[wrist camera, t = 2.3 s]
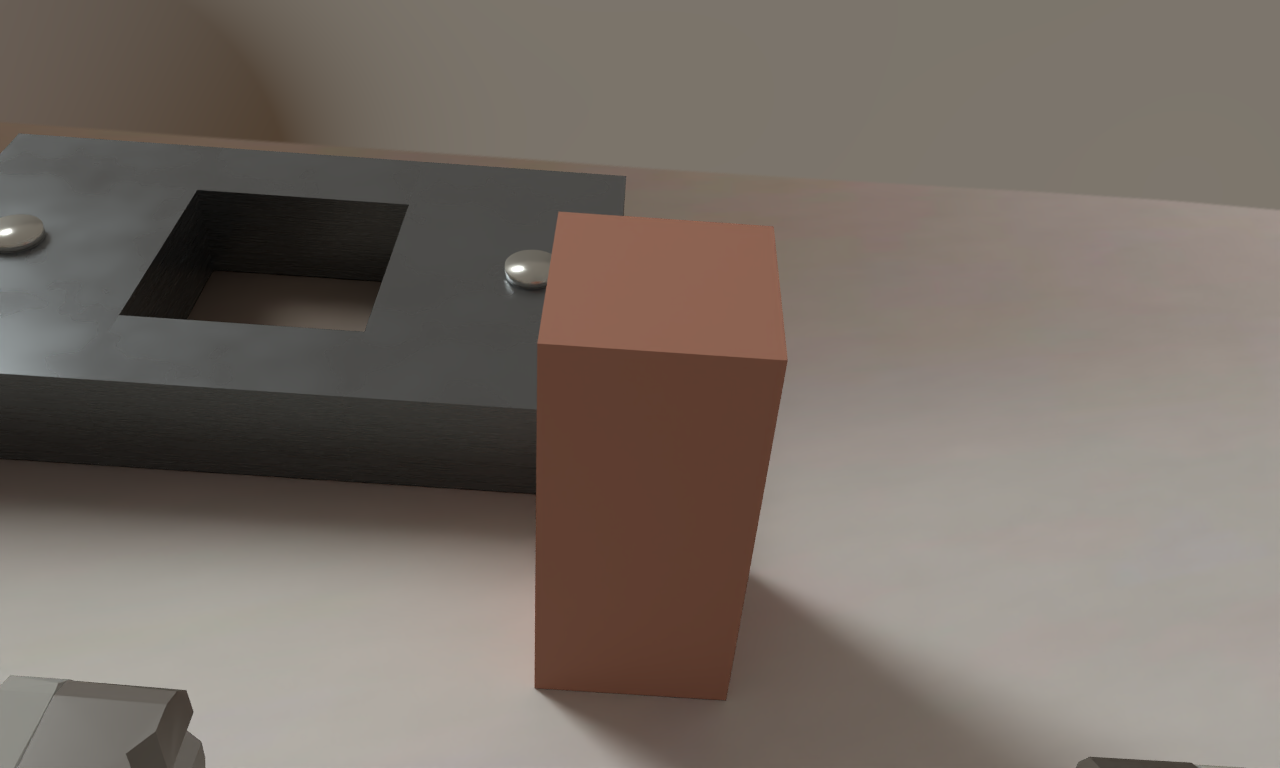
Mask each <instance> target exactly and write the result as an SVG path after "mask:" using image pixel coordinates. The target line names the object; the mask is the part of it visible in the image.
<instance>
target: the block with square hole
mask: <svg viewBox="0 0 1280 768" xmlns="http://www.w3.org/2000/svg"><path fill="white" fill-rule="evenodd" d="M625 185H626V176H615V175H601V174H587V173H573V172H558V171H544V170H530V169H516V168H501V167H487V166H473V165H459V164H445V163H430V162H416V161H402V160H388V159H373V158H359V157H345V156H331V155H316V154H302V153H288V152H274V151H259V150H245V149H231V148H217V147H203V146H188V145H174V144H160V143H146V142H131V141H117V140H103V139H89V138H74V137H60V136H46V135H32V134H18V135H17V136H16V137H15V138H14V140H13V141H12V142H11V143H10V144H9V145H8V146H7V147H6V148H5V149H4V150H3V152H2V153H1V154H0V458H5V459H21V460H36V461H51V462H66V463H81V464H96V465H111V466H127V467H142V468H157V469H172V470H187V471H202V472H217V473H233V474H248V475H263V476H278V477H293V478H308V479H323V480H339V481H354V482H369V483H384V484H399V485H414V486H429V487H445V488H460V489H475V490H490V491H505V492H520V493H535V494H536V445H537V342H538V336H539V330H540V324H541V317H542V311H543V305H544V299H545V292H546V286H547V280H548V274H549V267H550V261H551V255H552V249H553V243H554V236H555V230H556V224H557V218H558V212H572V213H586V214H601V215H615V216H624V202H625ZM213 270H227V271H242V272H256V273H271V274H285V275H300V276H314V277H329V278H344V279H358V280H373V281H382V283H381V286H380V289H379V292H378V295H377V297H376V300H375V303H374V306H373V309H372V312H371V315H370V317H369V320H368V323H367V326H366V329H365V332H359V331H344V330H330V329H315V328H300V327H286V326H271V325H256V324H241V323H227V322H212V321H197V320H186V319H187V317H188V315H189V313H190V311H191V310H192V308H193V306H194V304H195V302H196V300H197V299H198V297H199V295H200V293H201V291H202V290H203V288H204V286H205V284H206V282H207V280H208V279H209V277H210V275H211V273H212V271H213Z"/></svg>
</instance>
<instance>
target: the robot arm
mask: <svg viewBox="0 0 1280 768" xmlns="http://www.w3.org/2000/svg"><path fill="white" fill-rule="evenodd" d="M192 715H193V709H192V706H191V703H190V700H189V697H188V693H187V690H178V689H166V688H154V687H142V686H130V685H118V684H106V683H94V682H83V681H73V680H69V679H55V678H41V677H26V676H12V675H11V676H9V677H8V678H7V679H6V680H5V681H4V682H3V683H2V684H1V685H0V768H205V755H204V751H203V746H202V742H201V741H200V740H199V739H197V738H196V737H195V736H193V735H192V734H191V733H190V732H188V731H187V728H188V726H189V723H190V720H191V718H192ZM1076 768H1244V767H1227V766H1210V765H1194V764H1193V763H1187V762H1170V761H1152V760H1135V759H1118V758H1100V757H1088V758H1086V759H1084V760H1082V761H1080V762H1079V763H1078V764H1077V766H1076Z"/></svg>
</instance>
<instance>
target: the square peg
mask: <svg viewBox="0 0 1280 768" xmlns="http://www.w3.org/2000/svg"><path fill="white" fill-rule="evenodd" d="M786 366H787V351H786V341H785V332H784V322H783V313H782V303H781V293H780V284H779V274H778V265H777V255H776V245H775V236H774V227H773V226H759V225H744V224H730V223H716V222H701V221H687V220H672V219H658V218H644V217H629V216H615V215H601V214H586V213H572V212H558V218H557V224H556V230H555V236H554V243H553V249H552V255H551V261H550V267H549V274H548V280H547V286H546V292H545V299H544V305H543V311H542V317H541V324H540V330H539V336H538V342H537V445H536V573H535V688H539V689H555V690H571V691H587V692H602V693H618V694H634V695H650V696H665V697H681V698H697V699H713V700H726V698H727V692H728V687H729V681H730V676H731V670H732V665H733V659H734V653H735V648H736V642H737V637H738V631H739V626H740V620H741V615H742V609H743V604H744V598H745V593H746V587H747V582H748V576H749V571H750V565H751V559H752V554H753V548H754V543H755V537H756V532H757V526H758V521H759V515H760V510H761V504H762V499H763V493H764V488H765V482H766V477H767V471H768V466H769V460H770V454H771V449H772V443H773V438H774V432H775V427H776V421H777V416H778V410H779V405H780V399H781V394H782V388H783V383H784V377H785V372H786Z"/></svg>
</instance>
